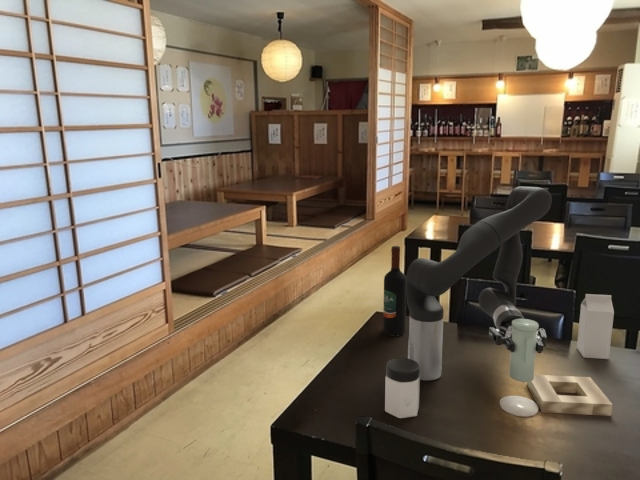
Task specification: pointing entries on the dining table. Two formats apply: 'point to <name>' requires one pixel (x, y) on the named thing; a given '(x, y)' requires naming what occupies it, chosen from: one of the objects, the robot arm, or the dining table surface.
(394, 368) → the jar
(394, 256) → the wine bottle
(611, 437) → the dining table surface
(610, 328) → the milk carton
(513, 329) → the mint green tumbler
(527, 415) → the saucer
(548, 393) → the wooden square frame
